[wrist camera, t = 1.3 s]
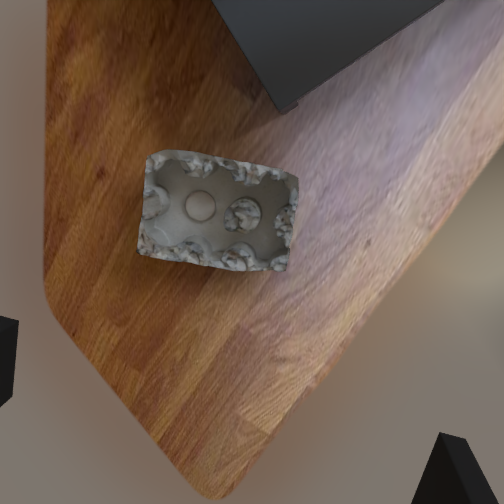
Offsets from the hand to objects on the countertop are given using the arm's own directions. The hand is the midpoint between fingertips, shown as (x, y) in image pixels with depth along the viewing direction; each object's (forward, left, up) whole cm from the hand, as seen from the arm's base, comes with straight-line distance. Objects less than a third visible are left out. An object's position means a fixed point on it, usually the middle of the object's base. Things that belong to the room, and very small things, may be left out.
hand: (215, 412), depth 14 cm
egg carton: (-4, -1, -21) cm, 21 cm away
